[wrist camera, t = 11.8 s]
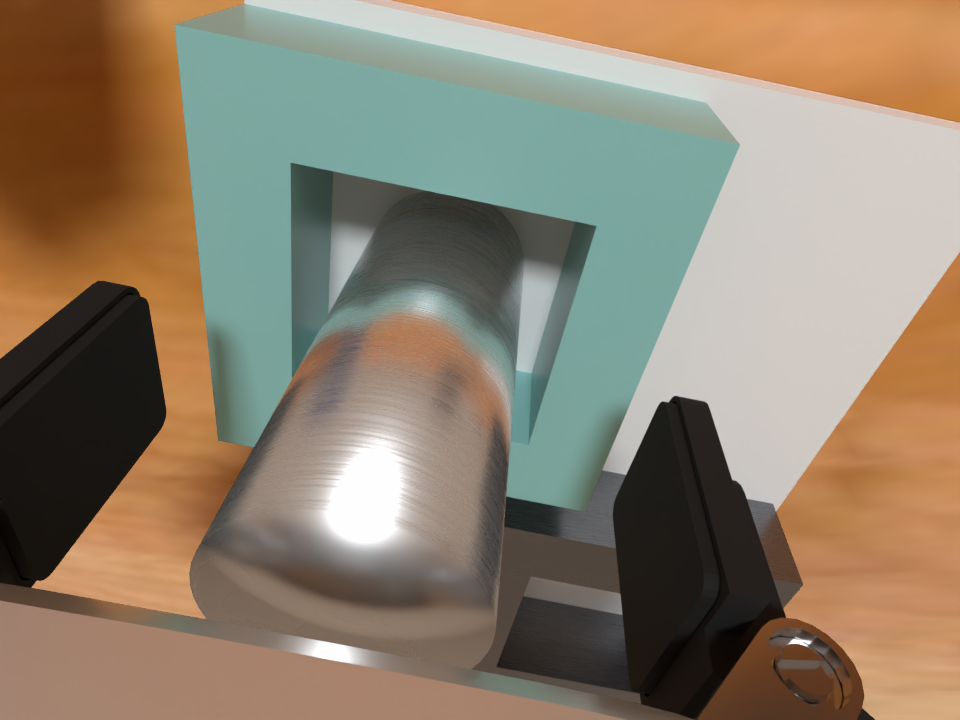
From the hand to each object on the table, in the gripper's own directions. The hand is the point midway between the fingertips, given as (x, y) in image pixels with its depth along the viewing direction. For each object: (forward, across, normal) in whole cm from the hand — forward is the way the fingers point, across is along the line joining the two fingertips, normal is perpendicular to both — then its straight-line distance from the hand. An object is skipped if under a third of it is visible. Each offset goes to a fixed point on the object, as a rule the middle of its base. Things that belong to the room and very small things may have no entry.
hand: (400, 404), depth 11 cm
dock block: (+6, 0, 0) cm, 6 cm away
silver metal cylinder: (+6, 0, 0) cm, 6 cm away
